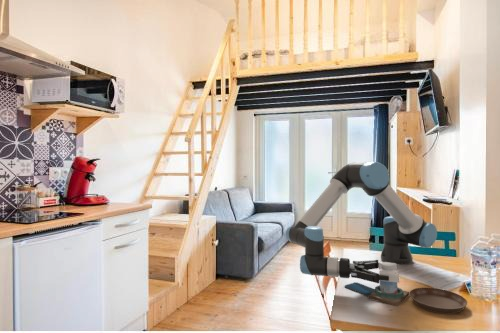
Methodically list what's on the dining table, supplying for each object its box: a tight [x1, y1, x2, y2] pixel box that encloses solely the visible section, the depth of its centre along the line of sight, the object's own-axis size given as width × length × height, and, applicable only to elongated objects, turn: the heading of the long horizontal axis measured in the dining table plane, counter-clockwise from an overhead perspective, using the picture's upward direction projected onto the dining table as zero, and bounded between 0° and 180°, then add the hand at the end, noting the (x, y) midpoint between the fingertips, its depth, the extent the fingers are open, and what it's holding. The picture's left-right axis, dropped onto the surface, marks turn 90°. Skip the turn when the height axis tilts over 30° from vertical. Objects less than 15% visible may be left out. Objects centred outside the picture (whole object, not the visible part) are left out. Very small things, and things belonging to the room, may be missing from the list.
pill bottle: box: [378, 261, 398, 294], centre depth 121 cm, size 6×6×11 cm
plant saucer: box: [409, 287, 468, 315], centre depth 113 cm, size 18×18×3 cm
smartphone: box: [344, 282, 375, 298], centre depth 127 cm, size 8×15×1 cm, turn 30°
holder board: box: [367, 284, 410, 307], centre depth 121 cm, size 13×10×3 cm
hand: (397, 272), depth 120 cm, fingers open, 13 cm apart
